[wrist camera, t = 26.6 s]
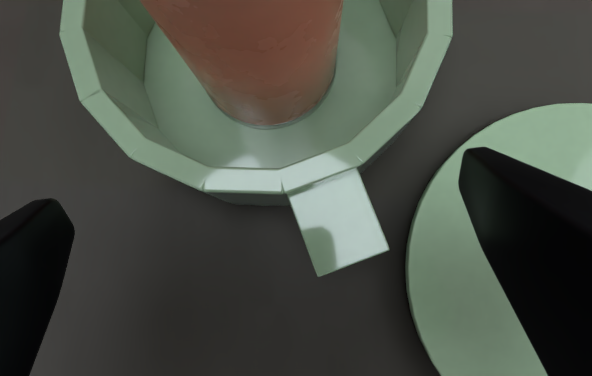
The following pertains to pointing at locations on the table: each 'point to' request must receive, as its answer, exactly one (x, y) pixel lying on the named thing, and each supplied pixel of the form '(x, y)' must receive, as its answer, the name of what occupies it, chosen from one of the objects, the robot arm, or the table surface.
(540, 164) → the pot lid
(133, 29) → the pot
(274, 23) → the reddish translucent cylinder
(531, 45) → the table surface
